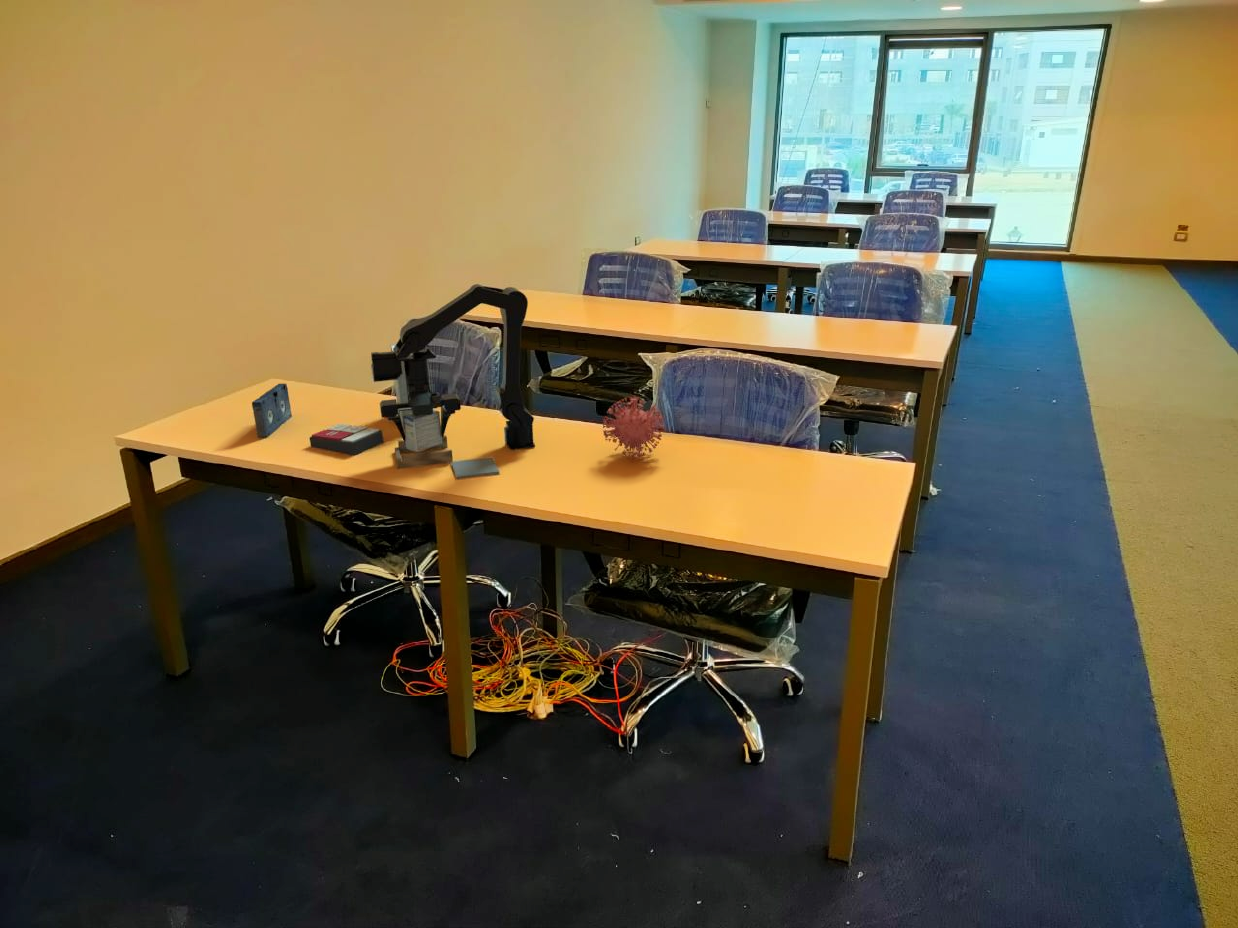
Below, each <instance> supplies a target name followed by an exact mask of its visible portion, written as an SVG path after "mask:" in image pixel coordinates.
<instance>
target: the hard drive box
mask: <svg viewBox="0 0 1238 928" xmlns="http://www.w3.org/2000/svg"><path fill="white" fill-rule="evenodd" d="M396 344H397V343H394V344H390V345H389V346H390V352H392V351H393V349H394V347H395V345H396ZM410 355H412V354H410ZM401 366H402V375H400V377H398V380H394V387H395V396H396V402H397V403H406V402H408V399H407V390H406V381H405V371H404V362H403V361H401ZM410 413H412V410H406V411H399V414H400V418H401V422H402V426H403V429H404V422H403V416H404V415H407V414H410Z"/></svg>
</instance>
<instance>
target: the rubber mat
mask: <svg viewBox="0 0 1238 928" xmlns="http://www.w3.org/2000/svg"><path fill="white" fill-rule="evenodd" d="M450 465H451V467H452V469H453V473H454V475H455V478H456V480H457V479H459V480H460V479H466V478H475V477H484V476H483V475H485V476H491V475H490V474H493V475H500V469H499V467H498V466H497V464H496V462H495V460H494V457H493V456H489V457H482V458H471V459H464V460H457V461H456V460H455V461H454V460H453V462H451V463H450Z"/></svg>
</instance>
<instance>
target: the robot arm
mask: <svg viewBox="0 0 1238 928" xmlns="http://www.w3.org/2000/svg"><path fill="white" fill-rule="evenodd" d="M481 304H482V305H488V306H491V307H495V308H499V310H500V315H501V320H502V323H503V339H502V341H503V344H502V345H503V347H502V353H503V355H502V382H501V385H500V387H494V393H495V394H494V395H495V396H494V397H495V398H494V400H493V403H494V404H495V405H496V407H497V409H498V411H499V412H500V413H501V415H502V417H504V418H505V420H506V421H505V426H504V427H503V431H504V432H503V433H504V442H505V445H506V446H507V447H508V449H509V450H511V451H512V450H520V449H528V448H530V449H531V448H535V447H536V444H535V442H534V430H533V429H534V427H533V424H534V420H535V418H534V417H533V415H532V414H531V412H530V411H529V410H528V409H527V408H526V407H525V402H524V396H523V392H522V388H521V383H520V382H521V349H522V348H521V346H522V342H521V341H522V327H523V325H524V321H525V319H526V317H527V316H526V315H527V311H528V306H529V305H528V304H529V302H528V297H527V296H526V294H524V292H522V291H521V290H519V289H517V288H515V287H511V286H509V287H505V288H503V289H502V288H498V287H491V286H485V285H482V284H480V283H478V284H477V283H476V284H474V285H472V286H470V288H469V289H467V290H466V291H464V292H463V293H462V294H460V295H459V296H457V297H455V298H453V299H452V300H451V301H449V302H448V303H446V304H444V305H443V306H442V307H440V308H438V309H436V311H434V312H433V313H431V314H429V315H427V316H424V317H421V318H418V319H414V320H412V321H410V322H408V323H406V324H405V325H403V326H402V327H401V329H400V332H399V339H398V341H397V342H396V343H395V344H396V345H395V347H394V349H393V351H392V352H391V351H384V352H381V351H380V352H379V351H373V352H371V353H370V356H371V357H370V358H371V364H370V367H371V374H372V379H373V383H376V382H386V381H395V380H398V377H400V375H402V366H401V361H403V362H404V371H405V381H406V390H407V399H408V402H406V403H397V398H395V399H386V400H385V399H384V400H381V401H380V402H379V409H380V415H381V416H380V417H381V418H384V419H385V418H387V421H392V422H393V423H394V424H395V426H396V427H397V430H398V431H399V434H400V435H401V438H402V440H404V441H406V440H405V431H404V428H403V426H402V422H401V418H400V414H399V411H406V410H412V414H413V415H414V416H419V415H431V414H433V410H435V409H438V408H440V424H441V436H442V437H444V435H445V434H446V429H447V426H448V422H449V419H450V417H452V416H451V415H453V414H454V415H455V414H456V411H460V410H461V409H462V407H461V399H460V397H459V395H458V394H456V393H447V394H440V392H438V391H437V392H432V388H431V378H430V368H429V360H432V359H436V358H437V355H436V354H435V352H434V351H432V350H431V349H430V347H429V346H428V345H429V344H430V343H431V342H433V340H434V339H435V338H436V337H437V335H438V334H439V333H440V332H441V331H442V330H443V329H445V328H447V327H448V326H450V325H451V324H452V323H454V322H455V321H457V320H459V319H460V318H461V317H463V316H465V315H466V314H467V313H469V312H470V311H473V310H474V309H475V308H476V307H478V306H480V305H481ZM410 354H412V355H410Z"/></svg>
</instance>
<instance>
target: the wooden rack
mask: <svg viewBox="0 0 1238 928" xmlns="http://www.w3.org/2000/svg"><path fill="white" fill-rule="evenodd" d="M447 438H448V437H447V435H445V434H444V437H442V444H439V445H436V446H433V447H430V448H428V449H425V450H424V451H426V452H415V453H411V452H413V451H412V450H409V449H407V448H406V441H404V440H403V439H398V440H397V444H398V446H396V447H394V453H395V454H394V455H395V460H396V464H397V465H396V466H397V469H407V468H408V469H409V468H415V467H424V466H433V465H443V464H451V462H453V461H454V457H453V450H452V449H448V439H447ZM439 449H443V450H439ZM444 449H445V450H444ZM428 450H433V451H428ZM435 450H436V451H435ZM402 453H407V454H402Z"/></svg>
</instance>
